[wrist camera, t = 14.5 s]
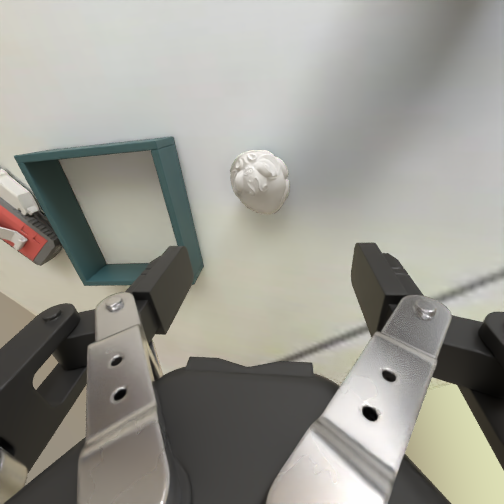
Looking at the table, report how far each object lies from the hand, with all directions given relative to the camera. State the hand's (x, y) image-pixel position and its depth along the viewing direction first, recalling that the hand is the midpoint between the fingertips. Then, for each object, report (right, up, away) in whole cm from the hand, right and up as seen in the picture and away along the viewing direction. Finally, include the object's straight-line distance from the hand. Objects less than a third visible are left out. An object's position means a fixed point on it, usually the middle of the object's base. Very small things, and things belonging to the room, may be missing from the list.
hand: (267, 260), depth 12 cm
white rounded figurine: (+1, +10, +17) cm, 20 cm away
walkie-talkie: (-35, +8, +23) cm, 43 cm away
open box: (-17, +6, +21) cm, 28 cm away
